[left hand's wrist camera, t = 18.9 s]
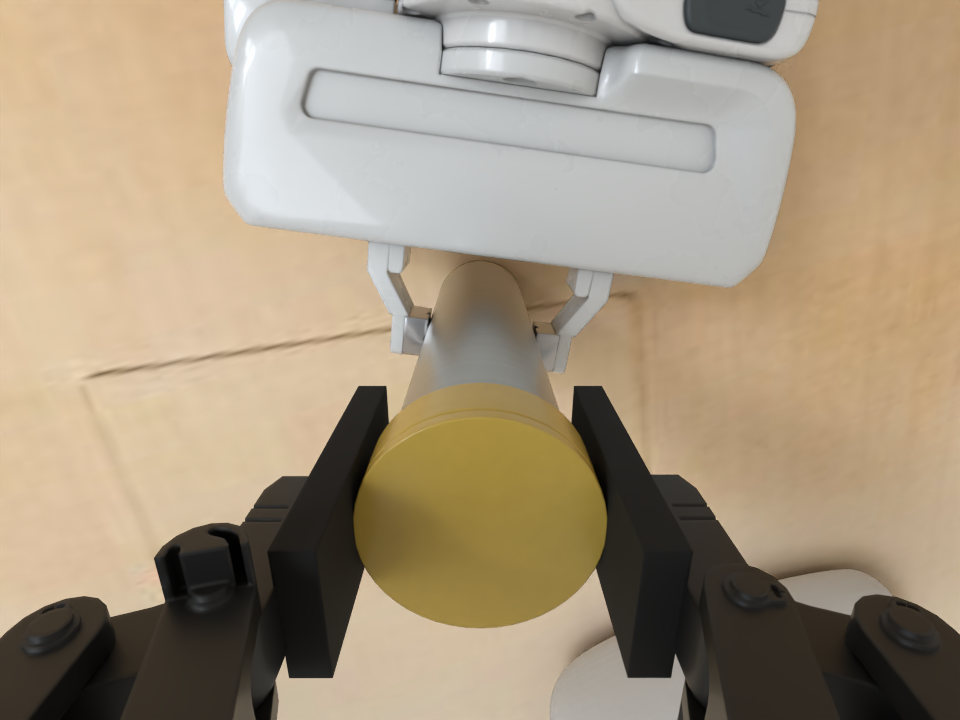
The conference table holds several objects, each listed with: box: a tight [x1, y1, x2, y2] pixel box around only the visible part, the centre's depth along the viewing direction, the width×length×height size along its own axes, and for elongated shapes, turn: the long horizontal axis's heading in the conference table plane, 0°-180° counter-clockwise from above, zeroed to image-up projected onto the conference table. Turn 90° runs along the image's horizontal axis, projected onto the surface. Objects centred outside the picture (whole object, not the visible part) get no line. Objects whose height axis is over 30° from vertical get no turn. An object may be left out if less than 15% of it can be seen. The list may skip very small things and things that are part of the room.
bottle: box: [401, 261, 559, 411], centre depth 20 cm, size 4×4×19 cm
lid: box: [353, 383, 607, 628], centre depth 11 cm, size 5×5×2 cm
